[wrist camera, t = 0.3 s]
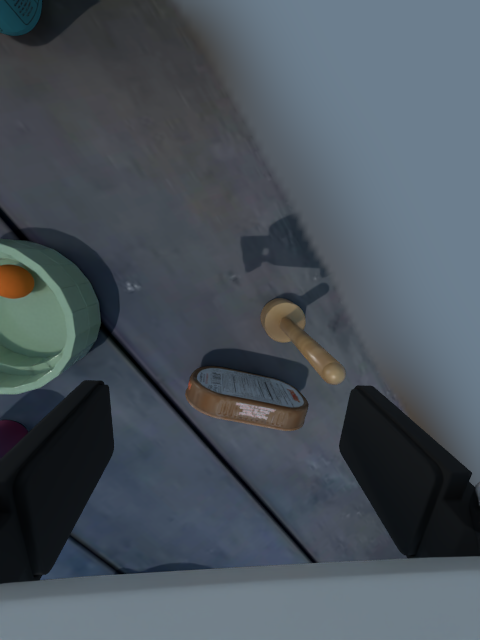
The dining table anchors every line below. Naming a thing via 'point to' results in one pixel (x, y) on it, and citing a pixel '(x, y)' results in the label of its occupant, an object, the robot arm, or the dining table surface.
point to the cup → (10, 435)
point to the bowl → (44, 318)
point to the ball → (15, 281)
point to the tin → (246, 398)
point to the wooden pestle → (299, 337)
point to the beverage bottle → (19, 16)
